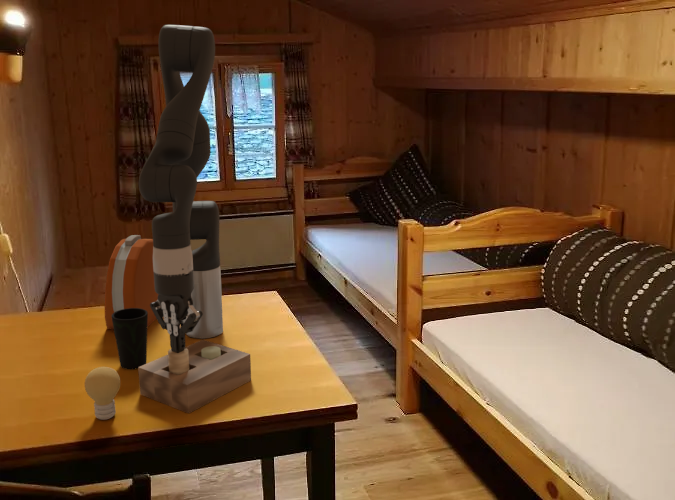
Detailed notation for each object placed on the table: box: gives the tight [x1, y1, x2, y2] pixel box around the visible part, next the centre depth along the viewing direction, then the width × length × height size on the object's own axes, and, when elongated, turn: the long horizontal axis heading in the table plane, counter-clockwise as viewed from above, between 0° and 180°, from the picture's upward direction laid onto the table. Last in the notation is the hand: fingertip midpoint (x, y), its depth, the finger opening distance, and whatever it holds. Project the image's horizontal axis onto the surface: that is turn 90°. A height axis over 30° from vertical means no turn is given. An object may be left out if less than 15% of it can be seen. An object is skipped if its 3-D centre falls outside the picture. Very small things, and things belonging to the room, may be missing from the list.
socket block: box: [137, 339, 252, 414], centre depth 146 cm, size 14×18×6 cm
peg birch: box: [167, 348, 189, 375], centre depth 142 cm, size 4×4×7 cm
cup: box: [111, 308, 148, 370], centre depth 157 cm, size 8×8×12 cm
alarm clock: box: [104, 234, 158, 330], centre depth 183 cm, size 22×10×23 cm, turn 172°
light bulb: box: [84, 366, 121, 421], centre depth 134 cm, size 6×6×10 cm
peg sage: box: [201, 346, 221, 360], centre depth 150 cm, size 4×4×7 cm
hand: (178, 351), depth 141 cm, fingers closed
